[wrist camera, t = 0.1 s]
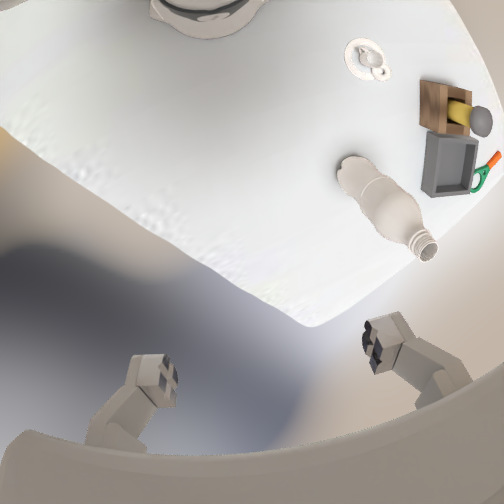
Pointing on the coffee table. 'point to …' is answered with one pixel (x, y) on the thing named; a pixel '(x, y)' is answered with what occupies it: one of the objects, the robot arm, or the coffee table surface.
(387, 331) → the robot arm
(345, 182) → the water bottle
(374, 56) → the teacup and saucer
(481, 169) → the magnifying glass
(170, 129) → the coffee table surface
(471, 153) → the tray
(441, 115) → the holder
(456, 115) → the peg
